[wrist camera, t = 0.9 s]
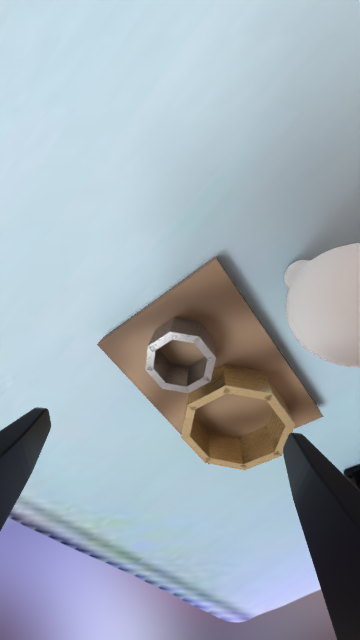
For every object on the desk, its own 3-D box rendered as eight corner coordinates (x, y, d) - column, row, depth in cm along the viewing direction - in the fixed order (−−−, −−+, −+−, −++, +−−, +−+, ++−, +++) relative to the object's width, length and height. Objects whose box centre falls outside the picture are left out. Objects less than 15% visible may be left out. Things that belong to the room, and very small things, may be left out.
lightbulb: (243, 289, 20) (281, 357, 10) (287, 219, 18) (390, 218, 8) (305, 321, 21) (397, 414, 11) (355, 256, 19) (532, 300, 9)
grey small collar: (224, 352, 21) (227, 372, 18) (177, 379, 23) (173, 401, 20) (189, 306, 20) (187, 320, 17) (142, 338, 22) (132, 355, 19)
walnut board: (316, 405, 24) (323, 416, 23) (208, 452, 28) (208, 464, 27) (215, 256, 20) (216, 259, 18) (103, 337, 24) (97, 344, 22)
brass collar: (297, 418, 23) (310, 444, 20) (219, 451, 26) (220, 479, 23) (248, 350, 21) (255, 369, 18) (168, 394, 24) (163, 417, 21)
